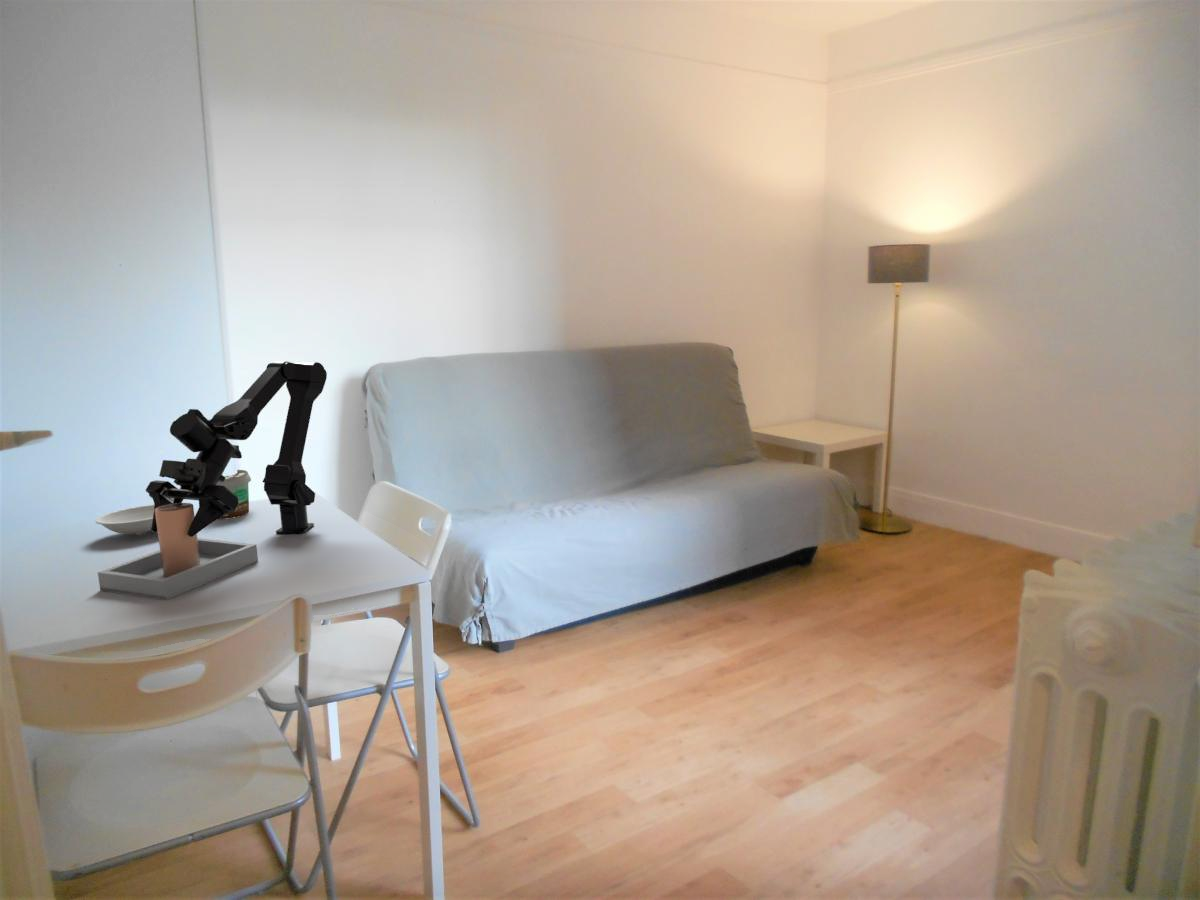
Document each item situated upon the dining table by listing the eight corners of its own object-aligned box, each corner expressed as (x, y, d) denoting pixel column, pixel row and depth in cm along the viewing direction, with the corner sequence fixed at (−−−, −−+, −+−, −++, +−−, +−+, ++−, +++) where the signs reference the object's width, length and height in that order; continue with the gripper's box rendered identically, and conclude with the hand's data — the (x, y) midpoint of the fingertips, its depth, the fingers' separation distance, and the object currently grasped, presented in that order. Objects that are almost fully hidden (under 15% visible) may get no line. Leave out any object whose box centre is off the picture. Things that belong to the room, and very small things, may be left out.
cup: (194, 564, 167) (186, 500, 165) (206, 571, 162) (198, 506, 160) (158, 572, 163) (150, 507, 160) (169, 580, 158) (161, 513, 155)
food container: (234, 521, 200) (229, 481, 198) (211, 520, 201) (206, 480, 199) (264, 508, 211) (260, 469, 210) (242, 507, 213) (238, 469, 211)
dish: (166, 520, 202) (164, 500, 201) (195, 530, 194) (192, 509, 193) (87, 538, 189) (84, 517, 188) (114, 549, 180) (110, 527, 179)
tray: (196, 553, 176) (194, 537, 175) (258, 560, 170) (256, 544, 169) (100, 590, 155) (97, 572, 155) (166, 600, 149) (163, 581, 149)
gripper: (147, 440, 165) (104, 509, 157) (220, 444, 158) (179, 516, 150) (184, 470, 173) (146, 537, 165) (255, 476, 167) (218, 545, 159)
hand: (171, 533), depth 160 cm, fingers open, 9 cm apart
